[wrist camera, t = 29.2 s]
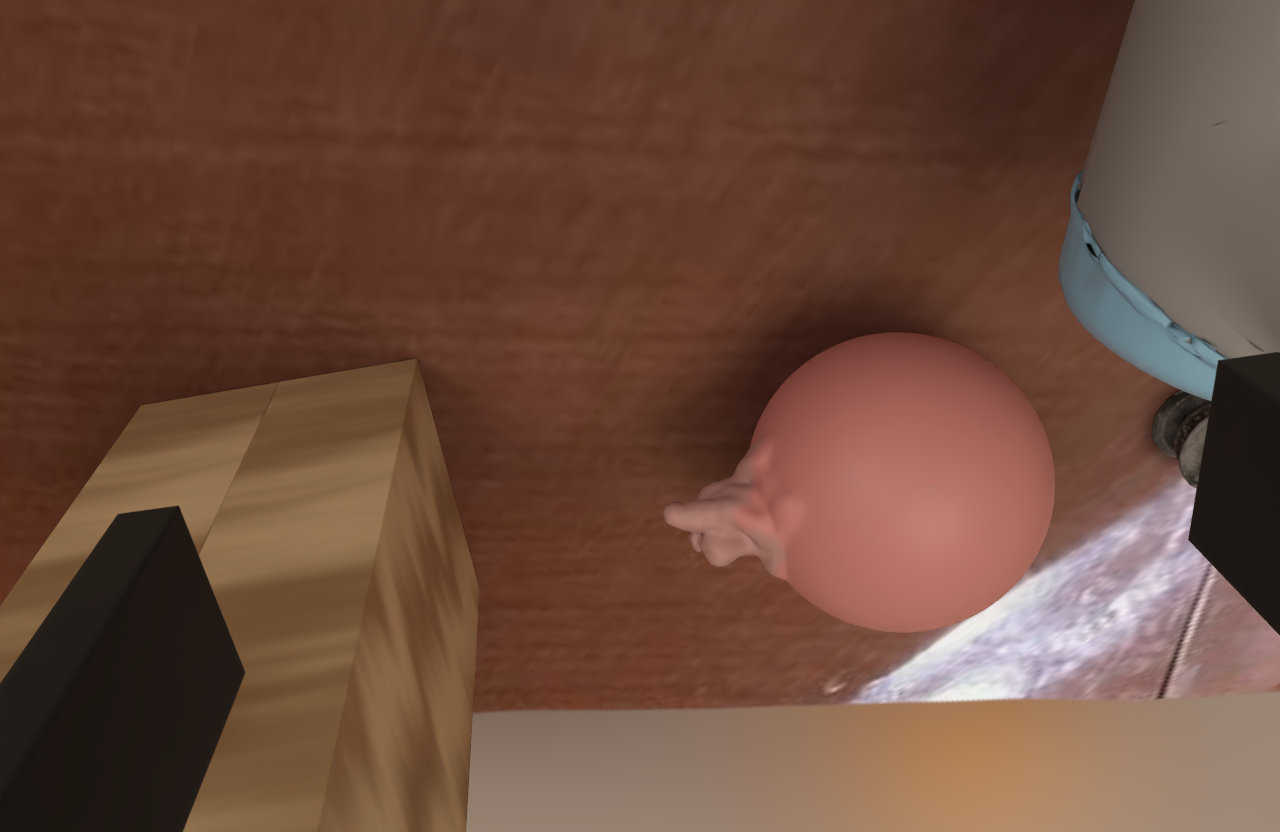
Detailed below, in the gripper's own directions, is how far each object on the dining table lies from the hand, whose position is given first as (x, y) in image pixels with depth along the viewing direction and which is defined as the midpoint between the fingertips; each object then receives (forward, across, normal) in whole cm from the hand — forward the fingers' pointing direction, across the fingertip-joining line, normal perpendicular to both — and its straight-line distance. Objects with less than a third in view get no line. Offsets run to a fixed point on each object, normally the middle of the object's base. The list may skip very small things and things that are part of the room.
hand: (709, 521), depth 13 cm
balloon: (+41, +10, -21) cm, 47 cm away
